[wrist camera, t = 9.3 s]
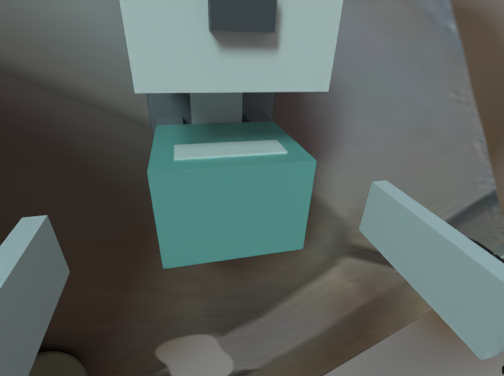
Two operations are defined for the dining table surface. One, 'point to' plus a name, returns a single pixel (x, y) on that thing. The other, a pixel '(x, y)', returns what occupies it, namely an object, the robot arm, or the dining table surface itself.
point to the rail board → (227, 54)
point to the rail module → (228, 190)
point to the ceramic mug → (56, 365)
